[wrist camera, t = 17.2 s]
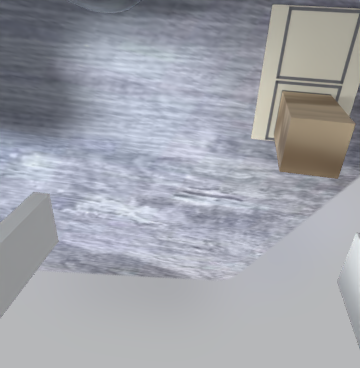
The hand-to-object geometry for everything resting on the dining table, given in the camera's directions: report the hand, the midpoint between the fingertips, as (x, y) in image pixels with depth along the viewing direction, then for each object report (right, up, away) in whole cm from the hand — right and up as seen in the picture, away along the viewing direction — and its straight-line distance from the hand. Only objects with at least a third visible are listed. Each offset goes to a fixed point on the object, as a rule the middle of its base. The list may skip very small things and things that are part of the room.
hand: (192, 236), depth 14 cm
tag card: (+13, +13, +20) cm, 28 cm away
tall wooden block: (+13, +10, +22) cm, 27 cm away
